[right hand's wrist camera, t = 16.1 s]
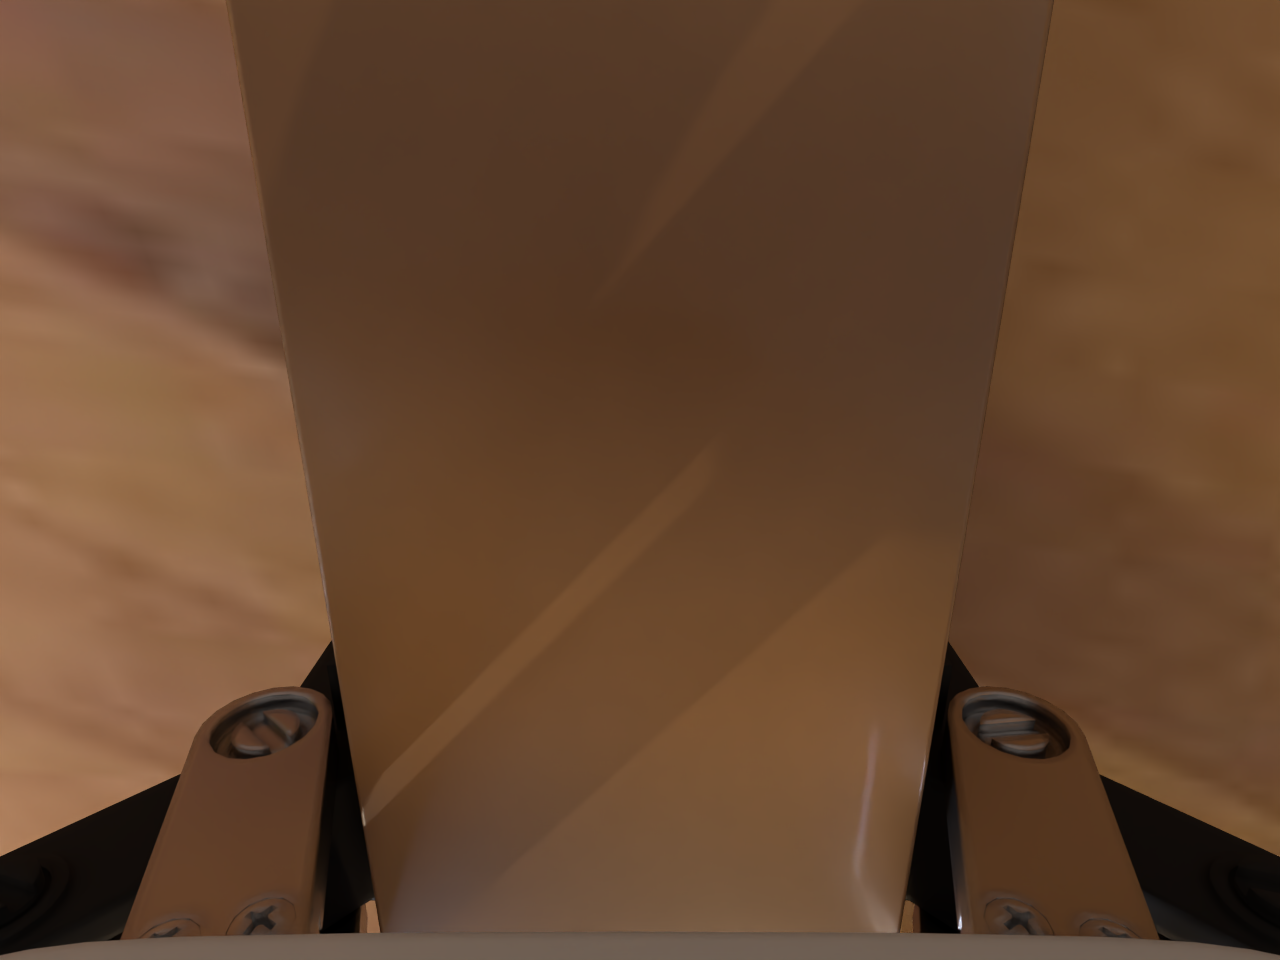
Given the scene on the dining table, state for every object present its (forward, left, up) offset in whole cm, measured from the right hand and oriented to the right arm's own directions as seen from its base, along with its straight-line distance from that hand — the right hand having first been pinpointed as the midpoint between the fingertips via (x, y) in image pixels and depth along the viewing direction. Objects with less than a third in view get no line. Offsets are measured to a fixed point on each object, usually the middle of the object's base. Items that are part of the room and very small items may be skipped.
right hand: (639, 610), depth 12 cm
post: (-19, -14, -2) cm, 24 cm away
